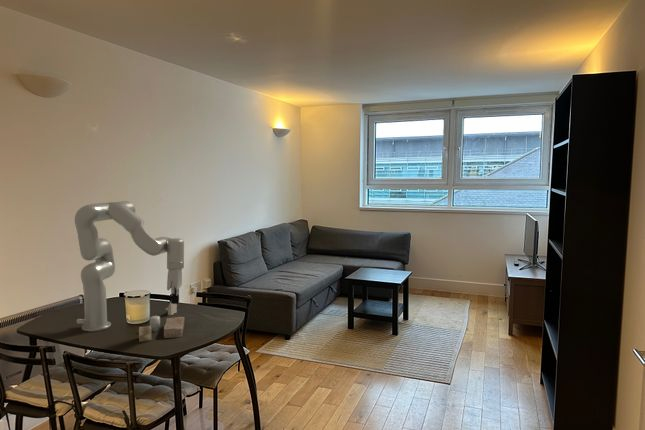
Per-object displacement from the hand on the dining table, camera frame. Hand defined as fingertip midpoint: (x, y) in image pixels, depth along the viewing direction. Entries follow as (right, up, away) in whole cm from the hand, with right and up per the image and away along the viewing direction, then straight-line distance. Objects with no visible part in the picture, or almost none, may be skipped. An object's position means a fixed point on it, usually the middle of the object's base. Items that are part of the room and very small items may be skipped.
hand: (175, 303), depth 210 cm
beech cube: (-10, -15, -9) cm, 20 cm away
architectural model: (-11, -12, +27) cm, 32 cm away
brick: (-1, -14, +1) cm, 14 cm away
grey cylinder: (-11, -13, +3) cm, 17 cm away
